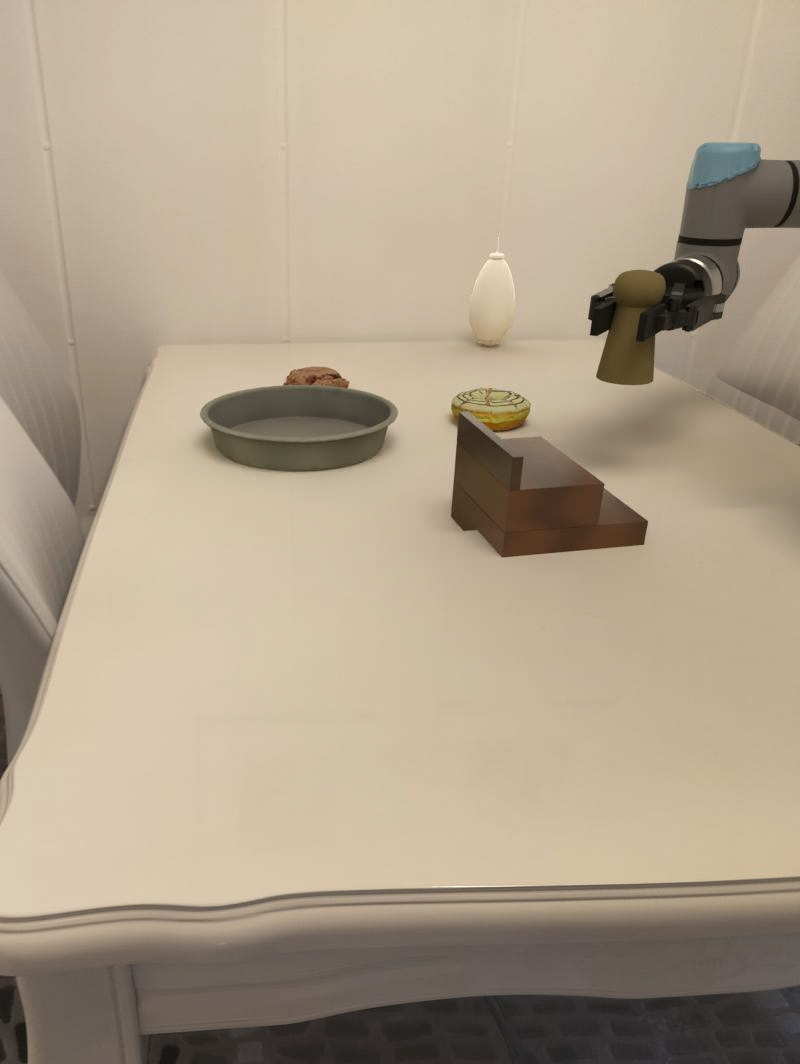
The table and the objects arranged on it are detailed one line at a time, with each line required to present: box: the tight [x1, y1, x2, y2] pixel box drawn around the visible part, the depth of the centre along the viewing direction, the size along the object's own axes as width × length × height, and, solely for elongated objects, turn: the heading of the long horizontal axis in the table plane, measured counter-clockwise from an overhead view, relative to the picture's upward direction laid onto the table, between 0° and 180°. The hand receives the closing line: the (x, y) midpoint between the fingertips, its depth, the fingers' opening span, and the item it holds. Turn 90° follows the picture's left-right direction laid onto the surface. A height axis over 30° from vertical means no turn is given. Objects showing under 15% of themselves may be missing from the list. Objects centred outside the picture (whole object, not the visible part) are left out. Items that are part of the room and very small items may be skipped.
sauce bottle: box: [468, 236, 517, 347], centre depth 161 cm, size 8×8×18 cm
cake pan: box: [199, 384, 399, 471], centre depth 115 cm, size 25×25×4 cm
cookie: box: [282, 365, 350, 388], centre depth 138 cm, size 10×11×3 cm
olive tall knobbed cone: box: [595, 269, 666, 386], centre depth 98 cm, size 6×6×11 cm
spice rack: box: [450, 412, 649, 558], centre depth 88 cm, size 14×14×11 cm
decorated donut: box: [450, 387, 532, 432], centre depth 124 cm, size 10×11×4 cm
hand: (618, 324), depth 93 cm, fingers closed on olive tall knobbed cone, 4 cm apart
